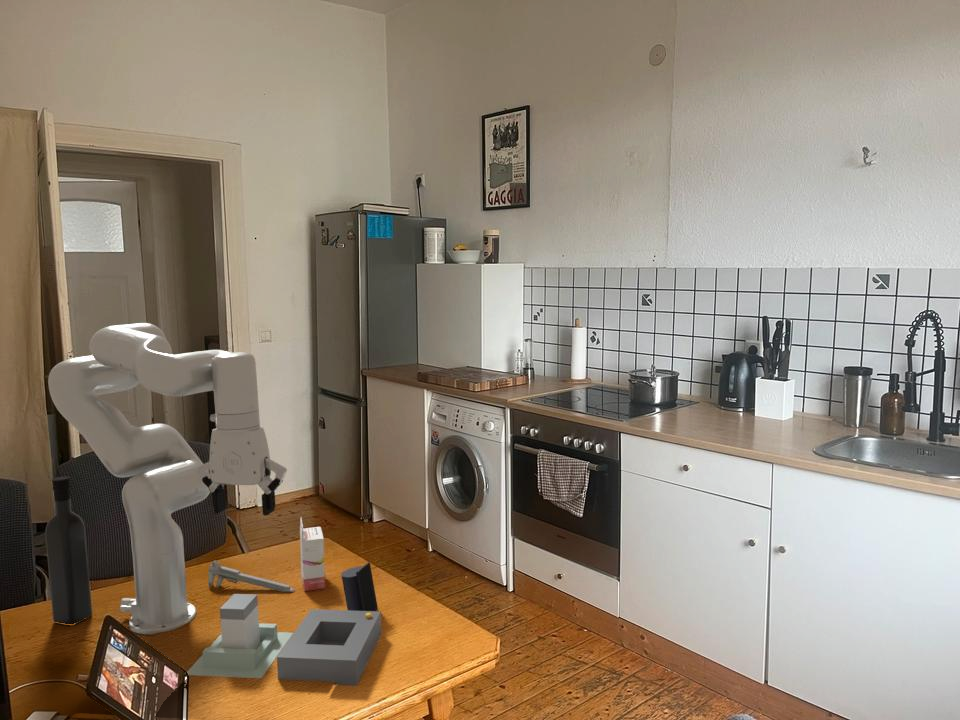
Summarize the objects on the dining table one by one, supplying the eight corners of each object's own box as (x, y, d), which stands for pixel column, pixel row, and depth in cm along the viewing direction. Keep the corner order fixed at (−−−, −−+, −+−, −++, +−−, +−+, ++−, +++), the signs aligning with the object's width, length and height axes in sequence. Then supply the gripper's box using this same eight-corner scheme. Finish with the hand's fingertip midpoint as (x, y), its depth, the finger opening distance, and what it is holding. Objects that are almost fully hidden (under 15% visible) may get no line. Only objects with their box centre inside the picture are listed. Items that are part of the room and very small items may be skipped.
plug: (223, 660, 134) (219, 608, 133) (237, 643, 140) (234, 593, 139) (246, 661, 134) (243, 609, 133) (260, 644, 140) (257, 594, 139)
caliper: (208, 588, 167) (206, 561, 166) (211, 586, 168) (209, 559, 167) (293, 593, 164) (292, 566, 163) (295, 591, 165) (294, 564, 164)
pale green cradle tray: (184, 677, 130) (183, 658, 130) (225, 632, 146) (223, 615, 145) (261, 681, 129) (260, 661, 128) (293, 635, 144) (292, 618, 144)
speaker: (386, 609, 154) (379, 562, 153) (365, 621, 150) (358, 572, 149) (362, 603, 159) (355, 556, 158) (341, 614, 155) (334, 566, 154)
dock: (278, 682, 128) (276, 653, 128) (311, 631, 146) (310, 606, 145) (356, 685, 127) (355, 657, 126) (381, 633, 145) (380, 608, 144)
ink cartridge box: (326, 589, 165) (323, 525, 163) (303, 592, 164) (300, 528, 162) (322, 573, 173) (320, 513, 171) (301, 576, 172) (298, 515, 170)
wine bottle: (50, 624, 150) (37, 481, 147) (73, 611, 156) (61, 473, 152) (72, 627, 149) (59, 483, 145) (95, 615, 154) (83, 475, 150)
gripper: (182, 424, 132) (190, 517, 134) (272, 425, 128) (278, 520, 131) (206, 416, 139) (213, 504, 141) (291, 417, 136) (297, 507, 138)
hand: (244, 512), depth 136 cm, fingers open, 9 cm apart
